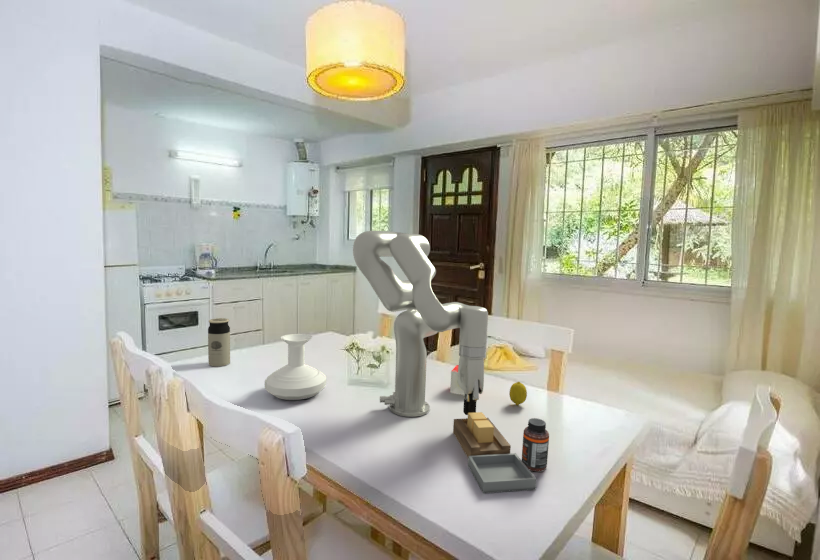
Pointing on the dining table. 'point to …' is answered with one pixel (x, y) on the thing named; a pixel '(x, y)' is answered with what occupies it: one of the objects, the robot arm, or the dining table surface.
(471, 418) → the yellow cube
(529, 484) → the tray
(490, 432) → the yellow wooden cube
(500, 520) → the dining table surface
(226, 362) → the travel mug
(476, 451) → the slot block
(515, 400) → the lemon
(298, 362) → the white vase
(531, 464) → the supplement bottle
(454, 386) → the red patterned box
